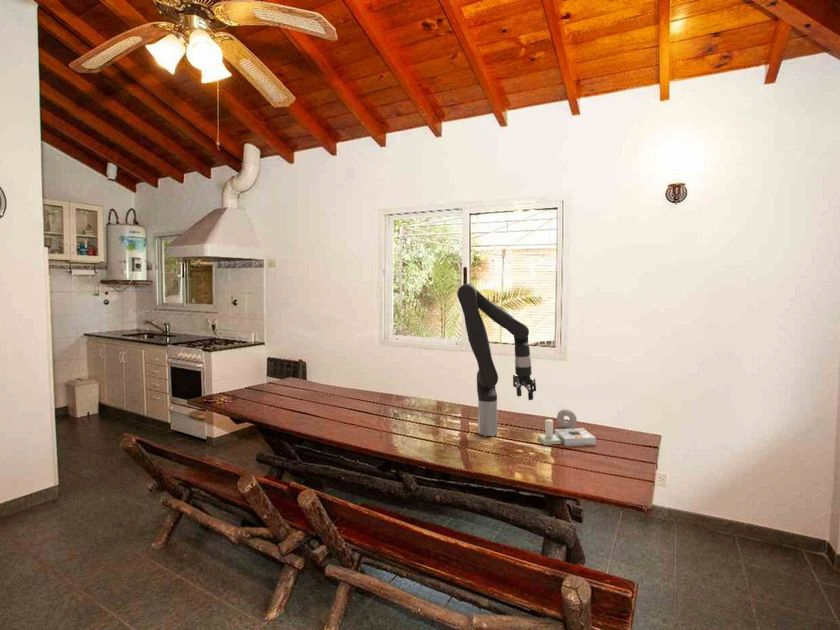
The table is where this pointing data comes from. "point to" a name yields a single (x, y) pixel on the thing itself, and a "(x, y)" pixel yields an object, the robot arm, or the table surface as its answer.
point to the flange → (575, 437)
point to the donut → (562, 422)
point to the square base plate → (549, 441)
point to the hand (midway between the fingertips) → (525, 398)
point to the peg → (549, 428)
